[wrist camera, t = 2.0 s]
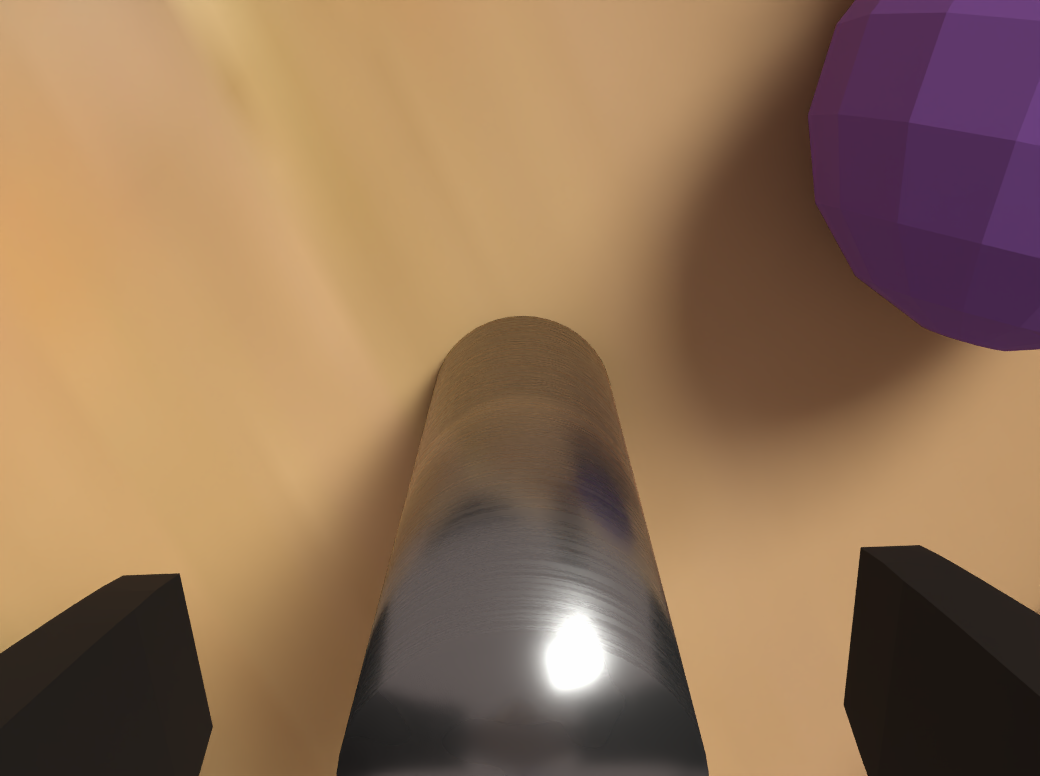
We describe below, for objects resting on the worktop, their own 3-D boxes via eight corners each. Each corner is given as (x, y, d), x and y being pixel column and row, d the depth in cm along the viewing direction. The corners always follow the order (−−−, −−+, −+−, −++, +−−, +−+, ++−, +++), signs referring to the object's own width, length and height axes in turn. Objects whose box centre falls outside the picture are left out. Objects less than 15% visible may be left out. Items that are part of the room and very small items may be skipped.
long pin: (645, 415, 16) (779, 817, 8) (507, 510, 17) (492, 972, 8) (539, 279, 15) (560, 568, 7) (397, 385, 16) (258, 765, 8)
